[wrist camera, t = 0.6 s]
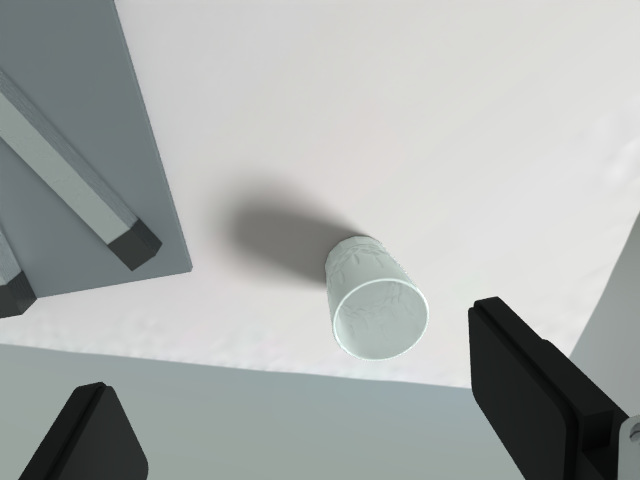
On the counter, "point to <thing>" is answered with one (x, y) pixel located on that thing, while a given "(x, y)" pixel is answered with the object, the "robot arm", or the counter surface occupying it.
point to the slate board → (81, 146)
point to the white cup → (372, 301)
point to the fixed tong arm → (13, 284)
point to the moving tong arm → (73, 178)
